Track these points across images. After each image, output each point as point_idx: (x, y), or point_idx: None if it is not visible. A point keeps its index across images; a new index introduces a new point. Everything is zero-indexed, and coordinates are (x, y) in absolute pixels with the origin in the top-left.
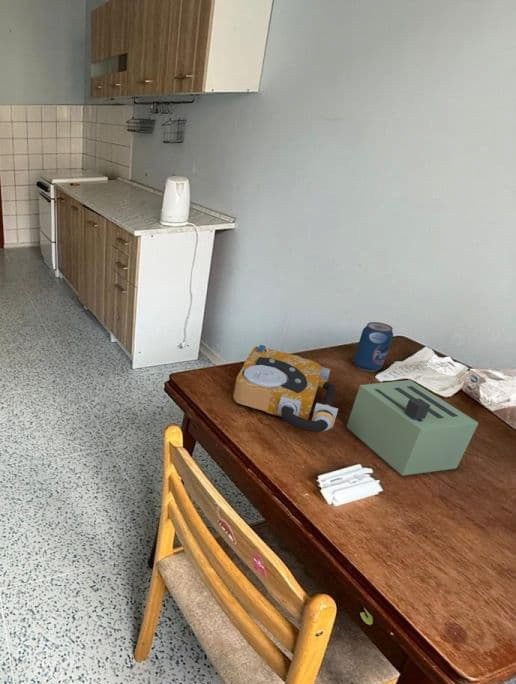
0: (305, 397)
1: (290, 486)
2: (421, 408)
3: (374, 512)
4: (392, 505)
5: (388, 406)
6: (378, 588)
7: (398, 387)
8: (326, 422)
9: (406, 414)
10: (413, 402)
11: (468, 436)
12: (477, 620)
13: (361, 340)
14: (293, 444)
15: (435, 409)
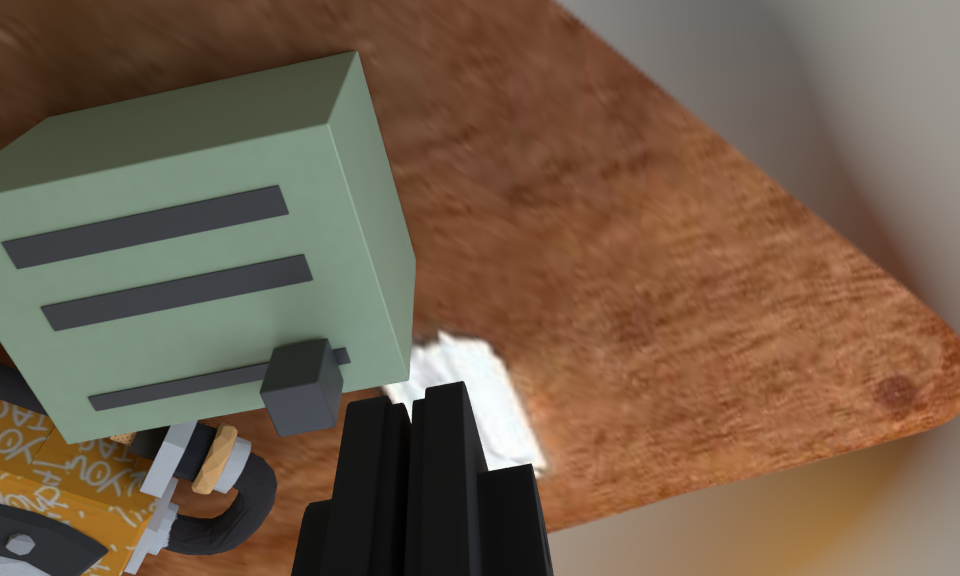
0: (135, 536)
1: None
2: (333, 407)
3: (571, 395)
4: (547, 344)
5: (238, 411)
6: (778, 470)
7: (37, 306)
8: (243, 471)
9: None
10: (303, 432)
11: (344, 119)
12: (886, 341)
13: None
14: (289, 482)
15: (231, 251)
